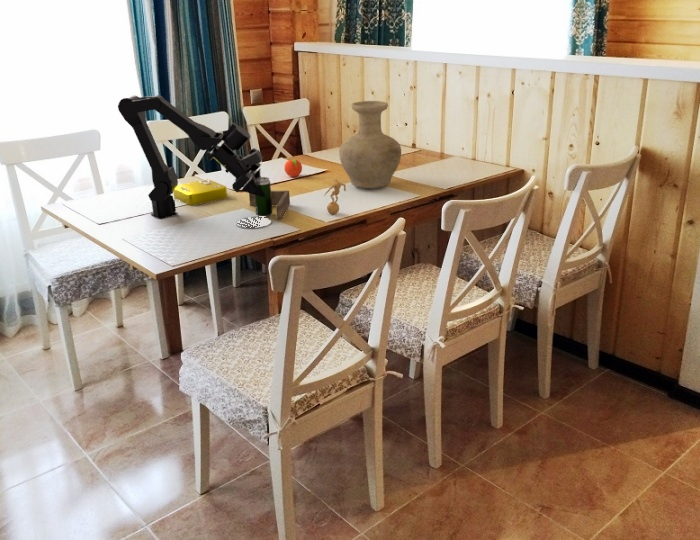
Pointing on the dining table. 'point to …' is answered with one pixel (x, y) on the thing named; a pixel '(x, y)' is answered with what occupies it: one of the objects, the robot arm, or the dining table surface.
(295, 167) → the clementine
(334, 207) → the figurine
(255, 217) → the coaster
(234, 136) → the robot arm
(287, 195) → the corner niche
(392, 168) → the vase
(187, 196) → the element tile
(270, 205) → the beer can
